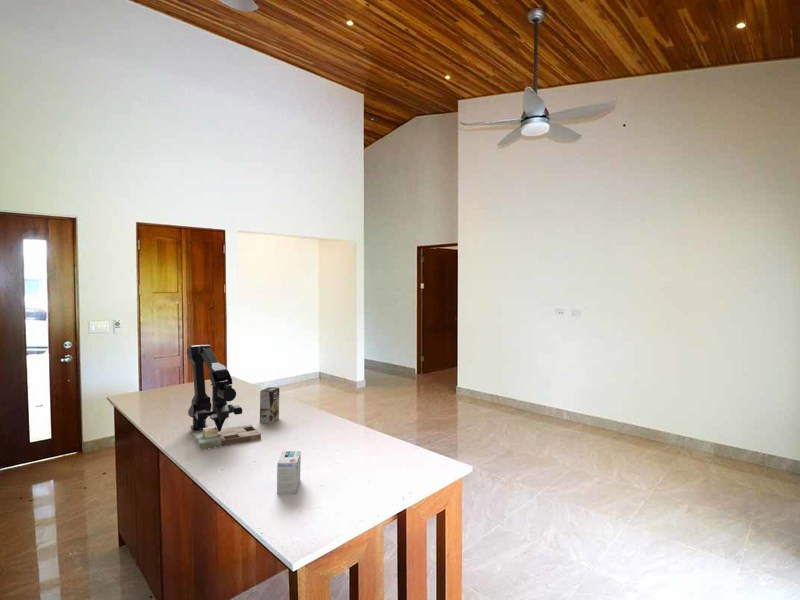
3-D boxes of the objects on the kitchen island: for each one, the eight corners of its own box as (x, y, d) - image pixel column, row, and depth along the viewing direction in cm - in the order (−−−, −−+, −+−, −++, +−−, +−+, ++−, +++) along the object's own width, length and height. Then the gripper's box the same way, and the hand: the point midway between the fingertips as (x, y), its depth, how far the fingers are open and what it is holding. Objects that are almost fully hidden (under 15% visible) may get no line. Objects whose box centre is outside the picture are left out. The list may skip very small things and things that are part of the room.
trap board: (194, 439, 199) (194, 433, 199) (250, 429, 213) (251, 424, 213) (201, 450, 187) (201, 444, 187) (260, 439, 201) (260, 433, 201)
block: (202, 434, 198) (202, 428, 198) (214, 432, 201) (214, 426, 201) (205, 438, 194) (205, 431, 194) (217, 436, 197) (217, 429, 197)
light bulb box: (281, 479, 162) (282, 450, 161) (300, 479, 162) (301, 450, 162) (276, 494, 151) (276, 462, 150) (296, 493, 152) (297, 462, 151)
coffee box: (271, 423, 222) (271, 391, 222) (259, 422, 224) (259, 390, 223) (279, 418, 231) (280, 387, 231) (268, 417, 233) (268, 386, 232)
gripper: (200, 404, 187) (200, 441, 188) (246, 398, 198) (245, 432, 198) (195, 398, 196) (195, 433, 197) (238, 392, 207) (238, 425, 207)
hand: (219, 431), depth 200 cm, fingers closed
